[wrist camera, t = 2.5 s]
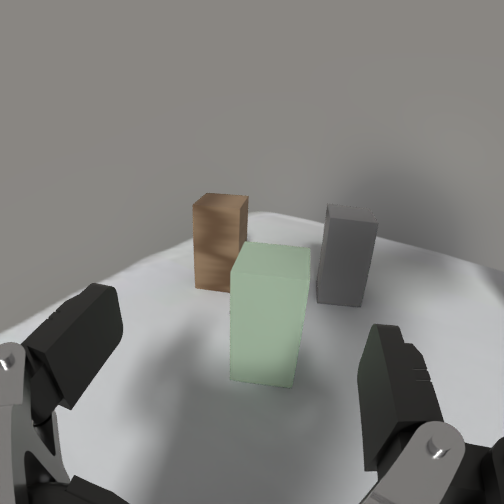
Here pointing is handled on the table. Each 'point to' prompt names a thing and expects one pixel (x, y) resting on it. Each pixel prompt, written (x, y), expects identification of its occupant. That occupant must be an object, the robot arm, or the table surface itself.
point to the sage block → (267, 312)
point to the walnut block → (218, 238)
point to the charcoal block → (345, 255)
